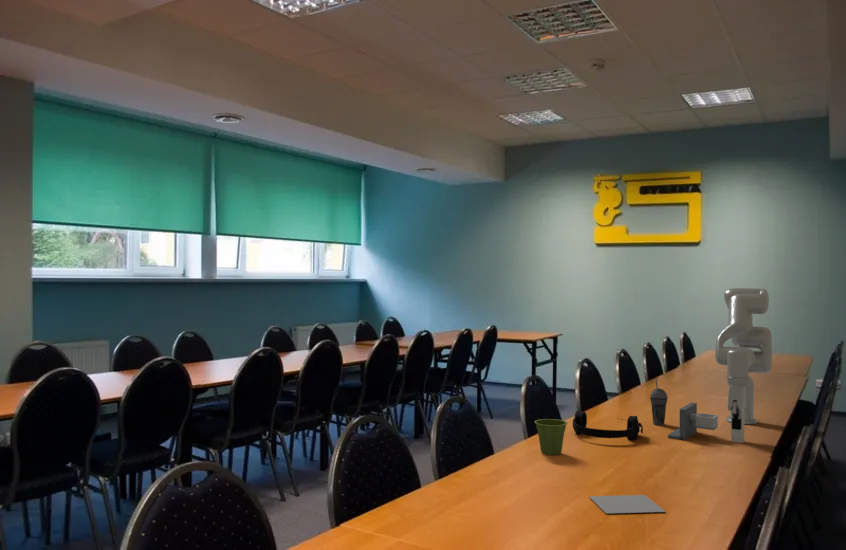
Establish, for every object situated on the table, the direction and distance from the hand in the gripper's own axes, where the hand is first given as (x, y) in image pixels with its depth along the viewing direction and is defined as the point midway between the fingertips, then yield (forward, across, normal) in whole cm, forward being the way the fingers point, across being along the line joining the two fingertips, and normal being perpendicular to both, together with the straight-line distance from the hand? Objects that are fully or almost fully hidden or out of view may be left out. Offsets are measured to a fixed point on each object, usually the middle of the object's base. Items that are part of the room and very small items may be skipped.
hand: (737, 427), depth 259 cm
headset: (+6, +21, -44) cm, 49 cm away
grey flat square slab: (+6, +92, -10) cm, 93 cm away
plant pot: (+6, +60, -51) cm, 79 cm away
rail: (+5, 0, 0) cm, 5 cm away
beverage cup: (+5, -12, -34) cm, 36 cm away
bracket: (+5, +2, -16) cm, 17 cm away
